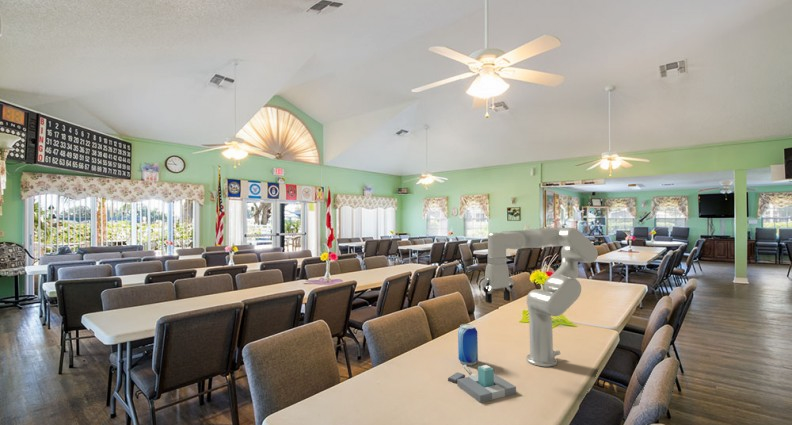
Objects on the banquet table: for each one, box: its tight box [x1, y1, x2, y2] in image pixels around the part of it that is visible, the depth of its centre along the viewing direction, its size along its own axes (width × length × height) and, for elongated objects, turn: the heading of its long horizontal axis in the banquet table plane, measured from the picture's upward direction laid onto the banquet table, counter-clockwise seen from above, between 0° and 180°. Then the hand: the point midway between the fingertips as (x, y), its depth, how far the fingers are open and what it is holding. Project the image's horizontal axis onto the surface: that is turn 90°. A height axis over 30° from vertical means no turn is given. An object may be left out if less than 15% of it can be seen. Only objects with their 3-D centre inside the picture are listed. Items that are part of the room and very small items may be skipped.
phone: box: [447, 372, 466, 384], centre depth 140 cm, size 7×4×1 cm, turn 139°
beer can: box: [457, 323, 479, 366], centre depth 157 cm, size 8×8×16 cm
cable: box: [462, 364, 476, 376], centre depth 146 cm, size 11×1×1 cm, turn 9°
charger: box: [477, 364, 495, 388], centre depth 132 cm, size 4×4×8 cm
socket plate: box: [456, 373, 517, 403], centre depth 131 cm, size 16×14×2 cm
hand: (497, 301), depth 151 cm, fingers open, 9 cm apart
